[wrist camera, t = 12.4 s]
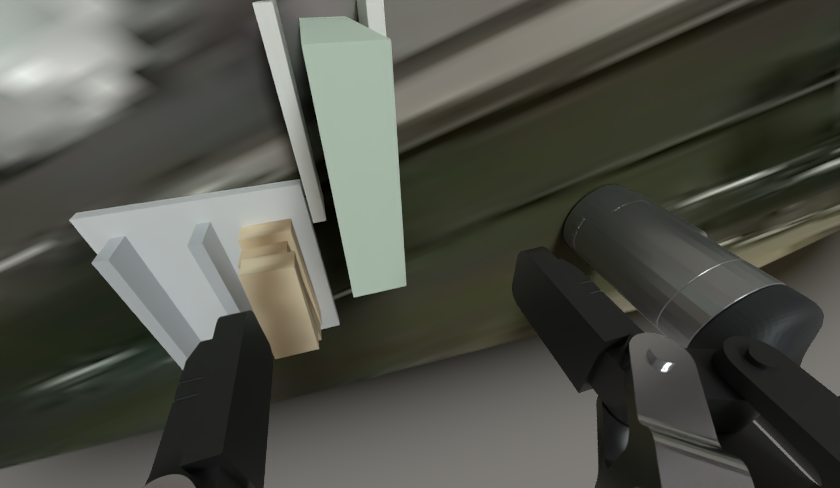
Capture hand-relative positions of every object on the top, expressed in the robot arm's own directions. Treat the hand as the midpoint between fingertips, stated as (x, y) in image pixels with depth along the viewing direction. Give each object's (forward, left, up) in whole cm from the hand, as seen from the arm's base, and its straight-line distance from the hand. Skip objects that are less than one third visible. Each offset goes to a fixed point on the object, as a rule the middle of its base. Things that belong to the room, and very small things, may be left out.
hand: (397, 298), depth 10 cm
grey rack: (+12, +14, -20) cm, 27 cm away
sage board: (0, 0, -20) cm, 20 cm away
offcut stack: (+7, +14, -19) cm, 25 cm away
